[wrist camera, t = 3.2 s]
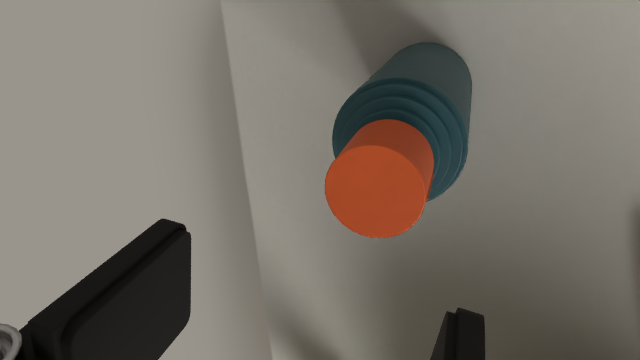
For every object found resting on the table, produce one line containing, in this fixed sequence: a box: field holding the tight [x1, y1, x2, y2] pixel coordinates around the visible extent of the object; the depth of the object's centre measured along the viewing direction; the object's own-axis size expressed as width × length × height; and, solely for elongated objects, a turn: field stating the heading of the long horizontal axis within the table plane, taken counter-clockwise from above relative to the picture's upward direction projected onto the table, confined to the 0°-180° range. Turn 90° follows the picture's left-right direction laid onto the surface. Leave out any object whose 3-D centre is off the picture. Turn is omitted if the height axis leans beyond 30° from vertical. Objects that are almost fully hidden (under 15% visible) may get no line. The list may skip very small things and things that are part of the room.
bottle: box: [332, 43, 472, 202], centre depth 26 cm, size 7×7×18 cm
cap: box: [325, 119, 434, 238], centre depth 19 cm, size 4×4×4 cm
